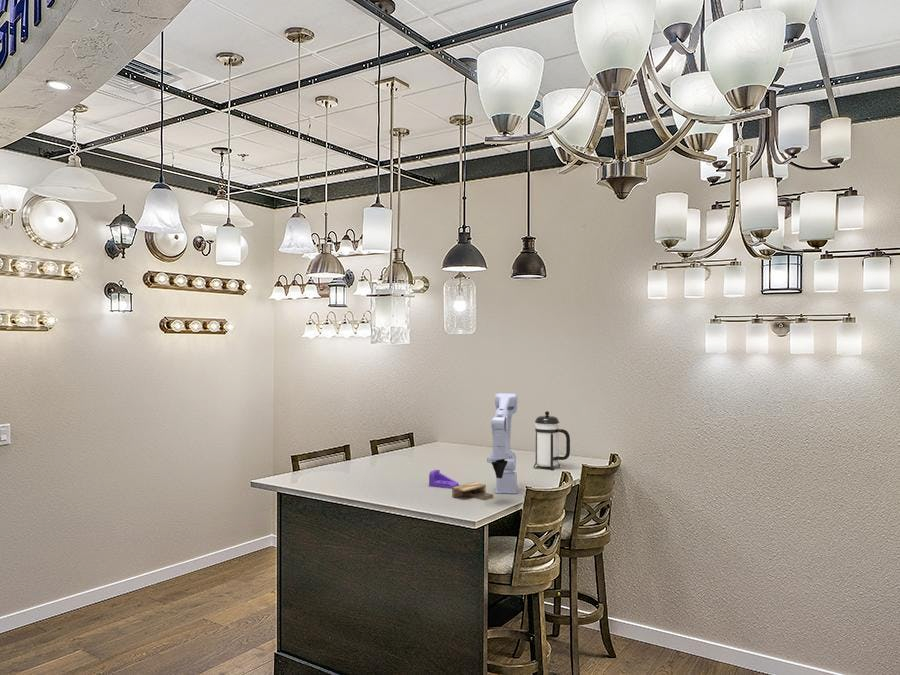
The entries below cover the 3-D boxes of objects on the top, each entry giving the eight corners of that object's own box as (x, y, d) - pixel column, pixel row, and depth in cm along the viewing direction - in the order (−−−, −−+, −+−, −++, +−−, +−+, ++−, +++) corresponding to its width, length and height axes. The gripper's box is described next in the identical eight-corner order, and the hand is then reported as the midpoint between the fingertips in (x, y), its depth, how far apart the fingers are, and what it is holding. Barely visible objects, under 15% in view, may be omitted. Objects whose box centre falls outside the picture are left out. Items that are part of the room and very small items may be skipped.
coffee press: (538, 471, 340) (539, 413, 340) (529, 465, 356) (529, 409, 356) (570, 470, 344) (570, 412, 344) (559, 464, 359) (559, 409, 360)
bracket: (429, 487, 305) (429, 472, 305) (435, 484, 311) (435, 469, 311) (452, 489, 300) (452, 474, 300) (458, 486, 306) (458, 471, 306)
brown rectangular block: (485, 494, 289) (485, 484, 289) (464, 499, 279) (464, 489, 279) (473, 491, 294) (473, 482, 294) (452, 497, 284) (452, 487, 284)
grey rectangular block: (493, 498, 283) (493, 494, 283) (484, 501, 279) (484, 496, 279) (472, 494, 292) (472, 489, 292) (463, 496, 287) (463, 491, 287)
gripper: (502, 442, 285) (502, 473, 285) (481, 446, 274) (480, 479, 274) (515, 444, 280) (515, 476, 280) (494, 448, 269) (494, 481, 269)
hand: (499, 477), depth 277 cm, fingers closed
